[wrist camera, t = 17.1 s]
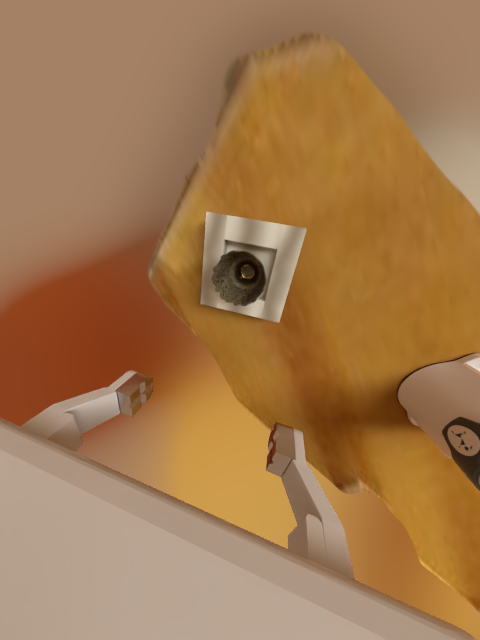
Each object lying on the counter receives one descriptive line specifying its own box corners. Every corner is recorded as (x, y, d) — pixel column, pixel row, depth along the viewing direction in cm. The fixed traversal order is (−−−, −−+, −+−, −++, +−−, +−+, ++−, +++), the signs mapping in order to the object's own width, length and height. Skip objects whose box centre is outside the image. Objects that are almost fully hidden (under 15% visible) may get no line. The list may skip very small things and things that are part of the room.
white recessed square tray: (302, 231, 28) (307, 228, 24) (279, 312, 35) (278, 322, 30) (217, 216, 30) (206, 211, 25) (210, 296, 36) (200, 303, 32)
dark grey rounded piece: (250, 299, 32) (241, 316, 25) (220, 273, 31) (201, 282, 24) (279, 269, 28) (278, 278, 21) (246, 238, 27) (233, 236, 20)
